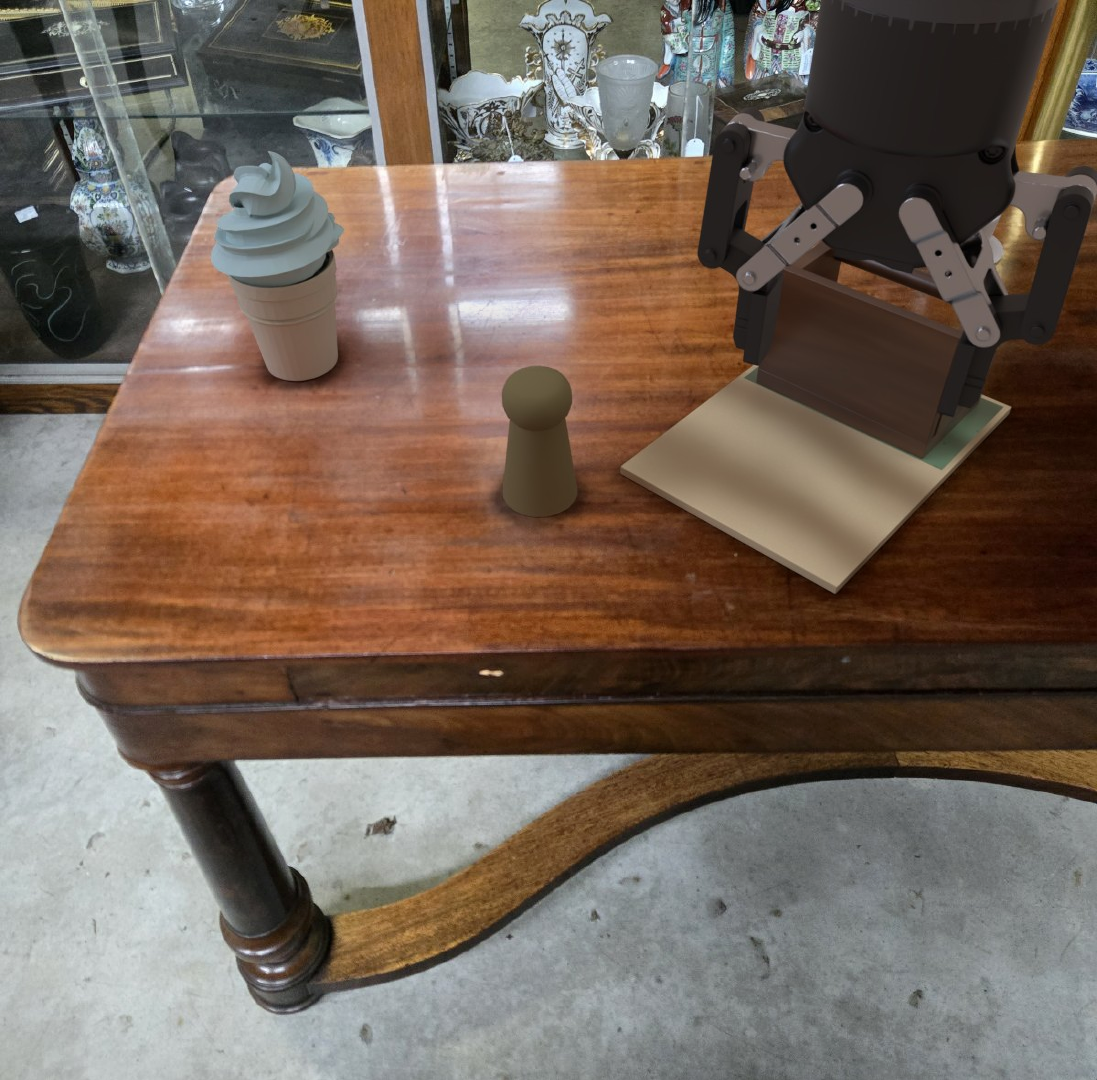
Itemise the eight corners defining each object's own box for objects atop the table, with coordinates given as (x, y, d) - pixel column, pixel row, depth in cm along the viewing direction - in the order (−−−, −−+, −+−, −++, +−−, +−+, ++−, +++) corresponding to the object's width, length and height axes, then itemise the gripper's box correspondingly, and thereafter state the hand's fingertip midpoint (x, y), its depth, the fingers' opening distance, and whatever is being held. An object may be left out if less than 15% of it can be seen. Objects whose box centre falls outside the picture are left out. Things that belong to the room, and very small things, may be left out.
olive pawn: (509, 522, 80) (502, 408, 72) (496, 472, 84) (488, 359, 77) (585, 510, 81) (586, 396, 73) (568, 461, 85) (568, 349, 78)
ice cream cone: (247, 336, 99) (194, 129, 85) (364, 328, 100) (330, 122, 86) (235, 399, 92) (174, 185, 78) (361, 390, 93) (323, 176, 79)
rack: (922, 459, 83) (959, 338, 75) (755, 382, 91) (773, 264, 83) (979, 402, 89) (1019, 283, 81) (817, 334, 96) (839, 219, 88)
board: (835, 594, 74) (837, 586, 74) (619, 473, 84) (620, 466, 84) (1009, 414, 89) (1011, 406, 88) (808, 329, 99) (809, 321, 98)
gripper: (1187, -30, 34) (1033, 376, 45) (771, -78, 39) (726, 300, 50) (1167, 44, 29) (1002, 477, 41) (697, -21, 34) (666, 383, 46)
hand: (849, 379), depth 45 cm, fingers open, 8 cm apart
